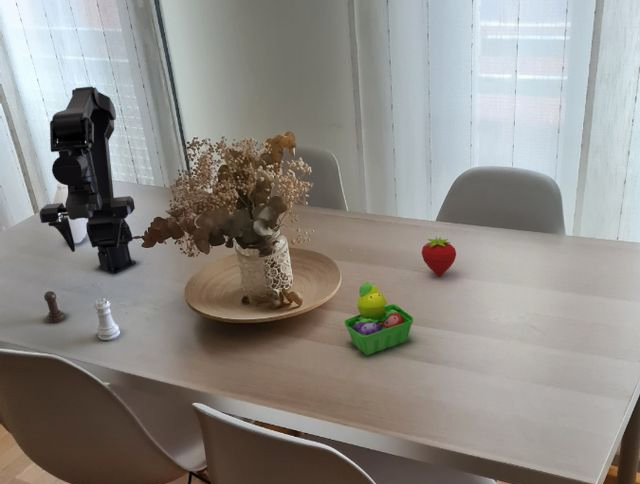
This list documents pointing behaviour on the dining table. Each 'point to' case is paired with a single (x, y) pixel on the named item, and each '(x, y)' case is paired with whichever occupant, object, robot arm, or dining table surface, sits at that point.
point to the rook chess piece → (106, 321)
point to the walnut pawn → (53, 308)
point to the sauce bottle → (76, 225)
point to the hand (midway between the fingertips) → (95, 249)
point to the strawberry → (439, 255)
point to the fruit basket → (377, 322)
